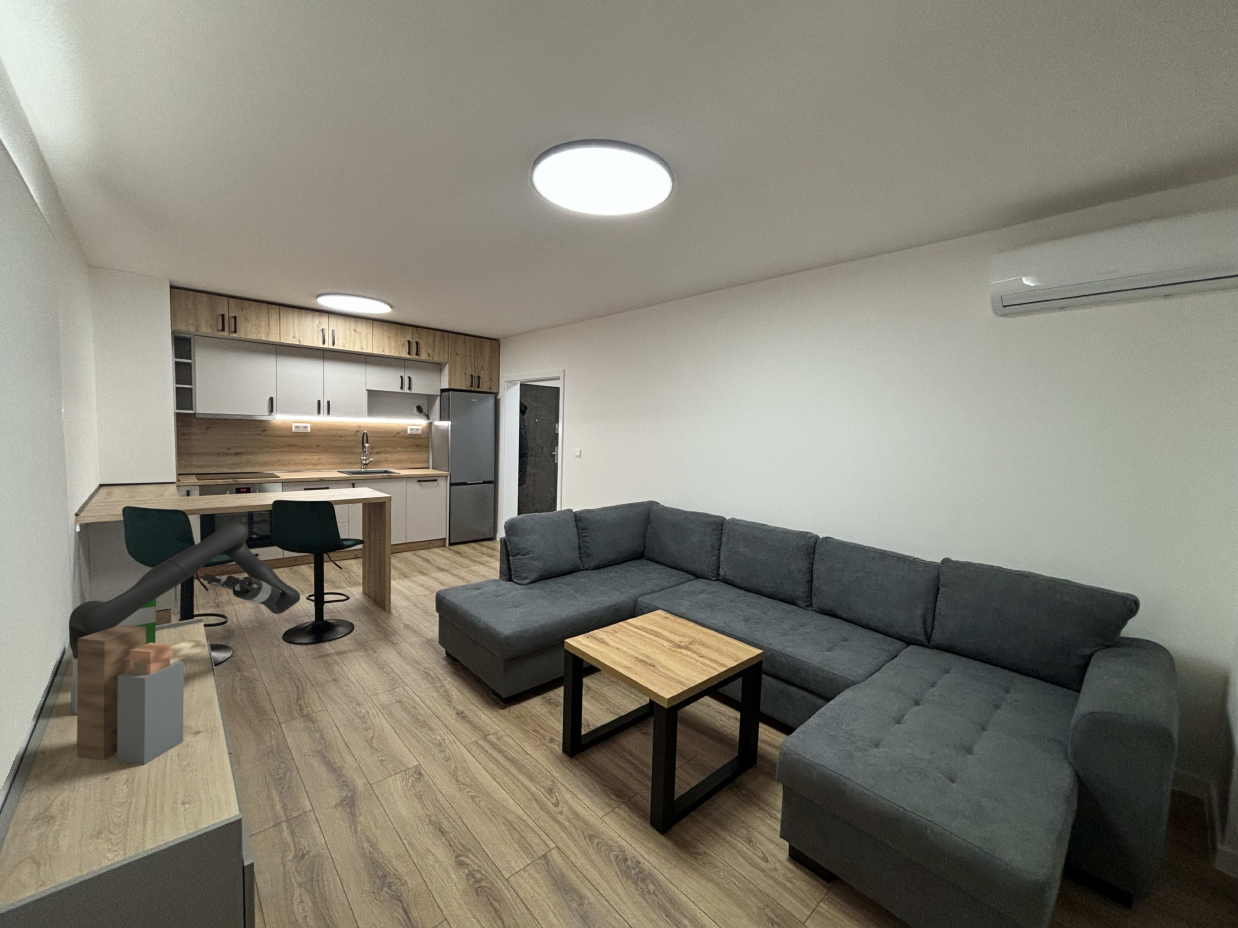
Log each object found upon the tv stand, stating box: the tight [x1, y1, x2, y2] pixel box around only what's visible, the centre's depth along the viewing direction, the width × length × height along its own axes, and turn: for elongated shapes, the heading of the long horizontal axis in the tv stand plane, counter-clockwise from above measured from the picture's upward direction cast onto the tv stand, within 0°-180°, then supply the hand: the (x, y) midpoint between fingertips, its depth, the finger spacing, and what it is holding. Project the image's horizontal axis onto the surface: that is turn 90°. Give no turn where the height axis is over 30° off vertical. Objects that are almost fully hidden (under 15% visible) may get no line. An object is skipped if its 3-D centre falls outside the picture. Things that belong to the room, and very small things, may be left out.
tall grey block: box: [116, 660, 185, 765], centre depth 129 cm, size 10×8×23 cm
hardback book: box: [103, 598, 157, 644], centre depth 178 cm, size 18×7×24 cm, turn 138°
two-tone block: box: [130, 637, 206, 674], centre depth 134 cm, size 16×6×6 cm, turn 174°
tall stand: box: [76, 625, 146, 761], centre depth 130 cm, size 10×8×32 cm
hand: (216, 577), depth 157 cm, fingers open, 8 cm apart
